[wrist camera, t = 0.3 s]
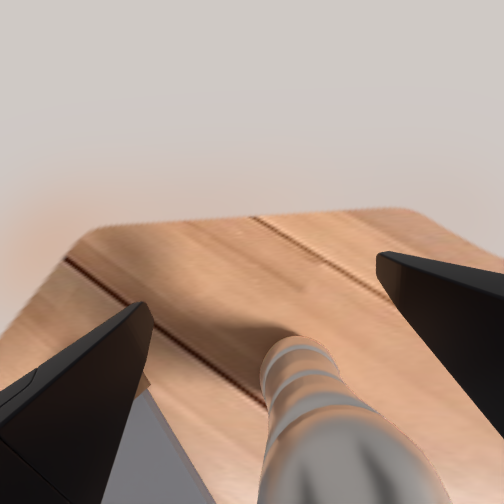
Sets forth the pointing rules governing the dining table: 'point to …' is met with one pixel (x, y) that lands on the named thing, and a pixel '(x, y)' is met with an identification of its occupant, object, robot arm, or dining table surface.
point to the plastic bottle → (333, 438)
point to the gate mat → (152, 463)
